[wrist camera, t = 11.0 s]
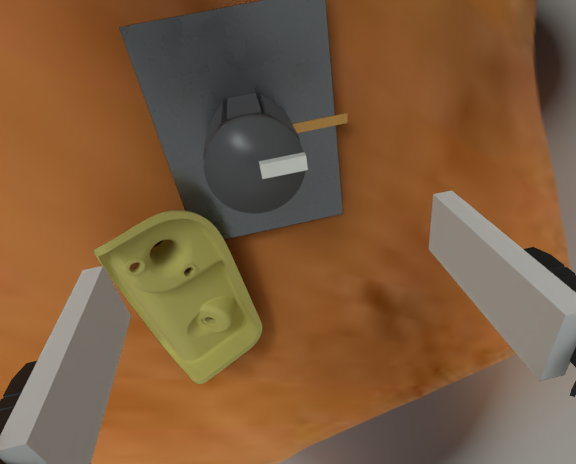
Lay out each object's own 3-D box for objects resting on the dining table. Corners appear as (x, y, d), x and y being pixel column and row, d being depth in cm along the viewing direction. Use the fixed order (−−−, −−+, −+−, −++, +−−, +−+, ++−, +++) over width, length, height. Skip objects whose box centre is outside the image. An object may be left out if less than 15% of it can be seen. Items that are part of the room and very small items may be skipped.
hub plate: (124, 26, 25) (100, 32, 20) (332, -13, 26) (359, -17, 21) (198, 236, 35) (195, 275, 30) (348, 204, 36) (369, 236, 31)
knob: (220, 181, 31) (218, 226, 25) (198, 103, 27) (189, 132, 21) (296, 166, 31) (312, 207, 25) (284, 86, 28) (300, 110, 21)
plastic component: (267, 335, 41) (189, 395, 37) (236, 300, 46) (165, 349, 43) (203, 190, 29) (79, 258, 25) (171, 164, 34) (64, 217, 31)
